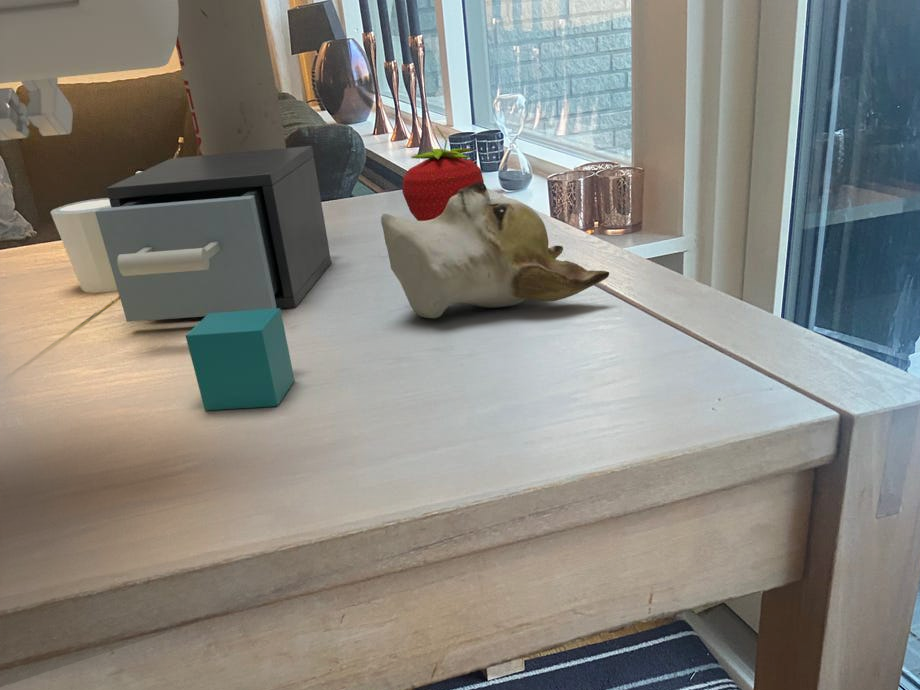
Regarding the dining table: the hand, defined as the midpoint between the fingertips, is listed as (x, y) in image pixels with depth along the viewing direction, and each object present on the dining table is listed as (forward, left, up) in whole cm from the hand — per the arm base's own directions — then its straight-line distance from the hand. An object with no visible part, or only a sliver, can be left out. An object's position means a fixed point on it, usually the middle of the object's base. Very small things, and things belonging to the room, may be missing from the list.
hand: (38, 126), depth 51 cm
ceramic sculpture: (+22, +16, -16) cm, 32 cm away
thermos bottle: (-2, +42, -16) cm, 45 cm away
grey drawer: (0, +20, -14) cm, 25 cm away
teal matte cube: (+8, 0, -15) cm, 17 cm away
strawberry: (+17, +36, -16) cm, 43 cm away
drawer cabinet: (0, +27, -15) cm, 31 cm away
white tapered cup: (-13, +31, -16) cm, 37 cm away
